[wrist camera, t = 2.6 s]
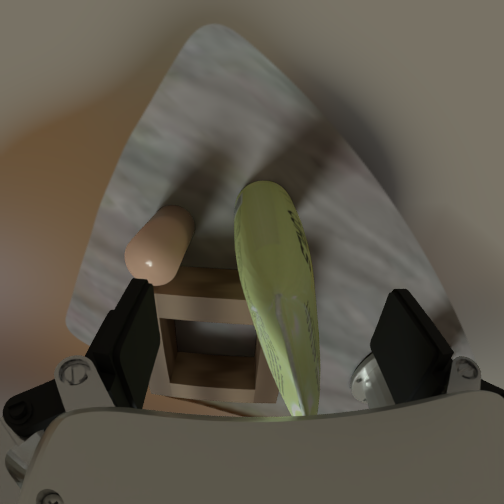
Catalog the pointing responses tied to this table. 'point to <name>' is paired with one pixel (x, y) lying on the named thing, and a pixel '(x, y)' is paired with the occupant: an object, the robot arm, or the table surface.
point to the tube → (280, 291)
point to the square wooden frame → (203, 365)
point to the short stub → (160, 245)
